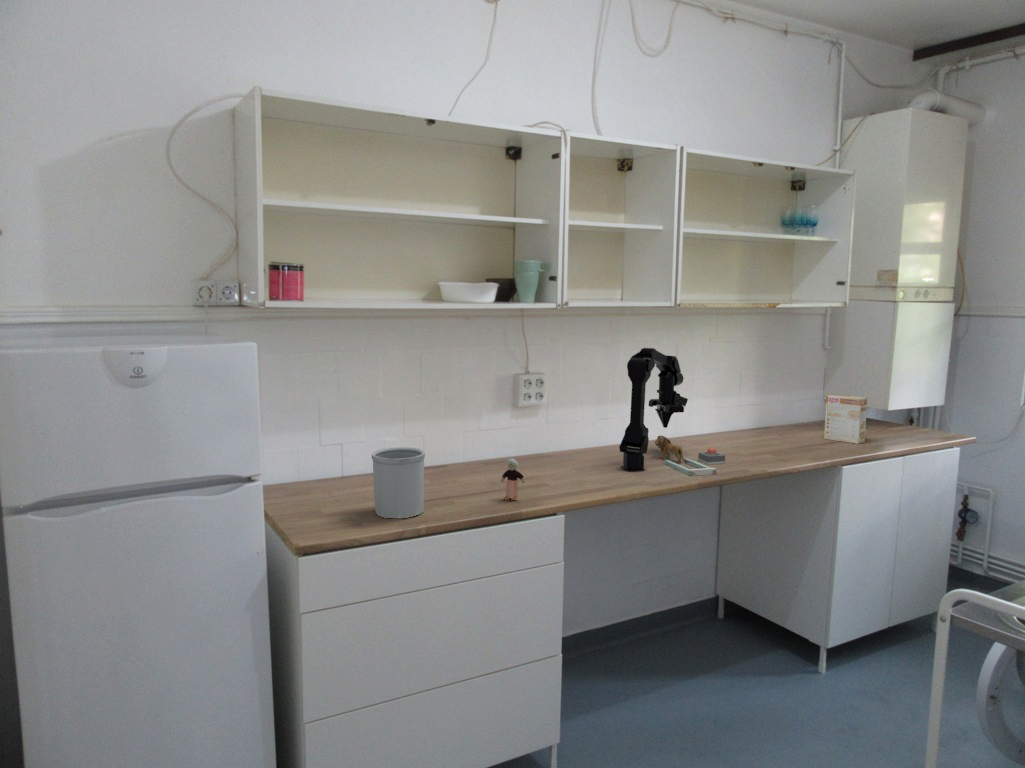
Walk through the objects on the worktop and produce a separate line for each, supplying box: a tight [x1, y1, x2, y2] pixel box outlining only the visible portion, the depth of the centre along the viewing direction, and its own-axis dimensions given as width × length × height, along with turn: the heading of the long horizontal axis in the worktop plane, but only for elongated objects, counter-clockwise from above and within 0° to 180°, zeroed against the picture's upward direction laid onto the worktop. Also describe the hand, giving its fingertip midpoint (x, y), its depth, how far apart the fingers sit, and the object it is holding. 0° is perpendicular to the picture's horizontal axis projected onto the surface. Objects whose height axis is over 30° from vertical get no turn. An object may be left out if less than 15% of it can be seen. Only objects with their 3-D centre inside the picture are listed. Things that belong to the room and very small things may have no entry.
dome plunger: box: [706, 447, 717, 455], centre depth 272 cm, size 3×3×4 cm
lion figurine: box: [654, 435, 688, 465], centre depth 274 cm, size 15×5×9 cm, turn 40°
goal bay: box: [663, 458, 717, 477], centre depth 261 cm, size 10×19×2 cm, turn 17°
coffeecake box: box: [823, 394, 868, 445], centre depth 314 cm, size 15×7×20 cm, turn 42°
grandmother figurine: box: [500, 458, 526, 501], centre depth 220 cm, size 8×4×13 cm, turn 82°
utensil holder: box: [371, 446, 426, 518], centre depth 206 cm, size 15×15×18 cm
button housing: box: [697, 451, 726, 465], centre depth 273 cm, size 7×7×3 cm
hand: (665, 427), depth 282 cm, fingers closed
